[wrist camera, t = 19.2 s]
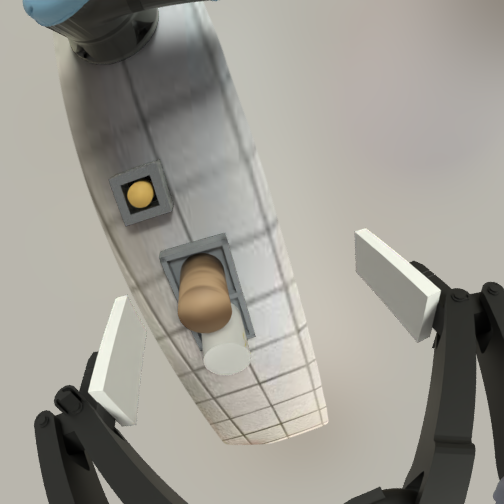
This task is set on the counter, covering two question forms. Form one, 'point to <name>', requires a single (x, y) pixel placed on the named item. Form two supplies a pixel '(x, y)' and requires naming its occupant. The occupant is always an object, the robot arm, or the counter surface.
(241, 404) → the counter surface
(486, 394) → the robot arm
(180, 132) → the counter surface
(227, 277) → the grey divided tray
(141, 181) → the button
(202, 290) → the ball
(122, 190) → the grey square holder
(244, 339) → the white stubby cylinder
